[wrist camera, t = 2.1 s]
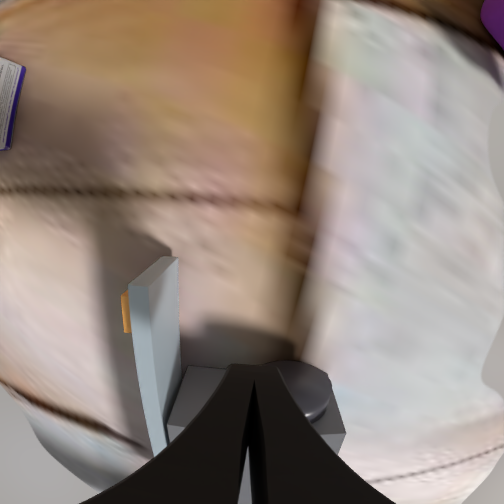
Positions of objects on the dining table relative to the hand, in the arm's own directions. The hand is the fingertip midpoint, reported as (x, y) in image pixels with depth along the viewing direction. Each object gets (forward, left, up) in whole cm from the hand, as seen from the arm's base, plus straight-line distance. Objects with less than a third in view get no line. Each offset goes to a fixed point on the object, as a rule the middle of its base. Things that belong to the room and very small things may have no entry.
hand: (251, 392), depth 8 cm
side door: (-7, +5, -7) cm, 11 cm away
